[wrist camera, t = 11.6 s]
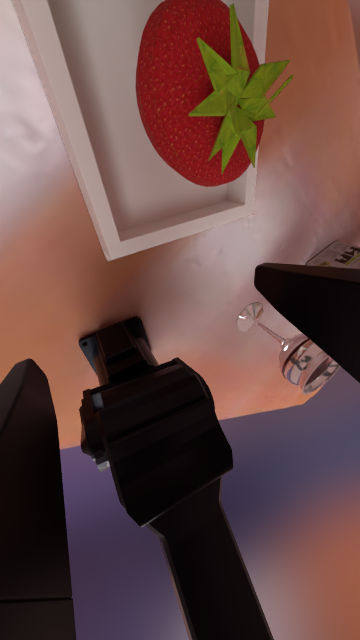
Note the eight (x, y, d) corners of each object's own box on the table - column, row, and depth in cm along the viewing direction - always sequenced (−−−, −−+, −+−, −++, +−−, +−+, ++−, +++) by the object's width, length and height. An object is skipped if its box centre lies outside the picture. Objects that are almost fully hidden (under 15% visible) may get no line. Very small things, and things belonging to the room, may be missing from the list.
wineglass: (269, 319, 36) (342, 369, 27) (236, 343, 35) (301, 402, 27) (265, 288, 32) (352, 336, 23) (227, 315, 31) (302, 375, 22)
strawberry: (146, 8, 12) (306, -212, 5) (217, 136, 17) (347, 118, 10) (85, 106, 13) (150, 38, 6) (170, 201, 18) (260, 226, 11)
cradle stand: (229, 218, 23) (294, 238, 17) (105, 257, 19) (134, 299, 13) (231, -148, 12) (427, -461, 6) (-71, -228, 8) (-384, -1350, 2)
